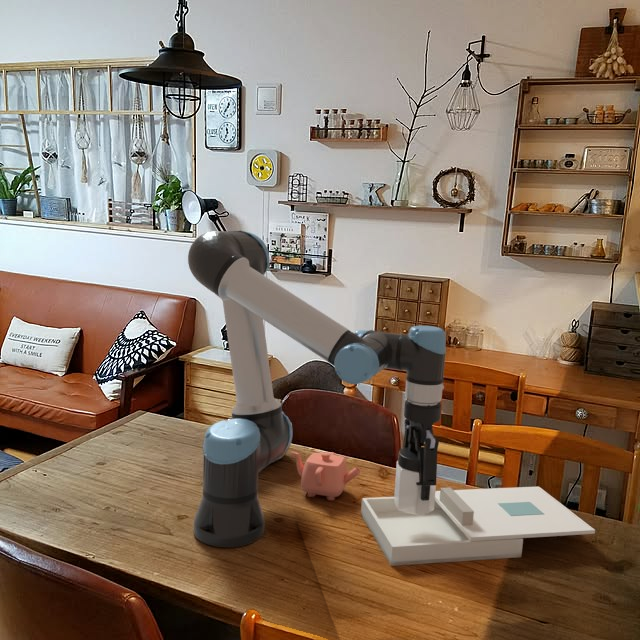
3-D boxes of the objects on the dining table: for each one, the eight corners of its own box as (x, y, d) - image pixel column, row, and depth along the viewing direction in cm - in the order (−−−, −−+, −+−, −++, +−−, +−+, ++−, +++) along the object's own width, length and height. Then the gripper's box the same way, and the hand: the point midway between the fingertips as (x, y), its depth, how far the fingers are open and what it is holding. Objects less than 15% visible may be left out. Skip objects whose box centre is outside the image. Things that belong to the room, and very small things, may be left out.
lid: (470, 541, 129) (472, 523, 128) (429, 494, 150) (431, 478, 149) (594, 533, 134) (596, 516, 134) (538, 489, 156) (540, 474, 155)
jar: (411, 518, 132) (415, 463, 130) (385, 503, 139) (389, 450, 137) (441, 509, 137) (446, 456, 135) (415, 494, 144) (419, 444, 142)
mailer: (391, 565, 126) (392, 546, 125) (360, 514, 147) (362, 498, 146) (521, 557, 132) (523, 538, 131) (474, 509, 153) (475, 493, 152)
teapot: (340, 480, 166) (342, 442, 164) (360, 499, 155) (363, 459, 154) (288, 486, 160) (290, 448, 159) (306, 507, 150) (308, 465, 148)
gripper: (459, 414, 125) (450, 525, 128) (423, 388, 144) (416, 485, 147) (423, 415, 123) (415, 528, 127) (391, 388, 142) (384, 487, 146)
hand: (415, 505), depth 137 cm, fingers closed on jar, 7 cm apart
